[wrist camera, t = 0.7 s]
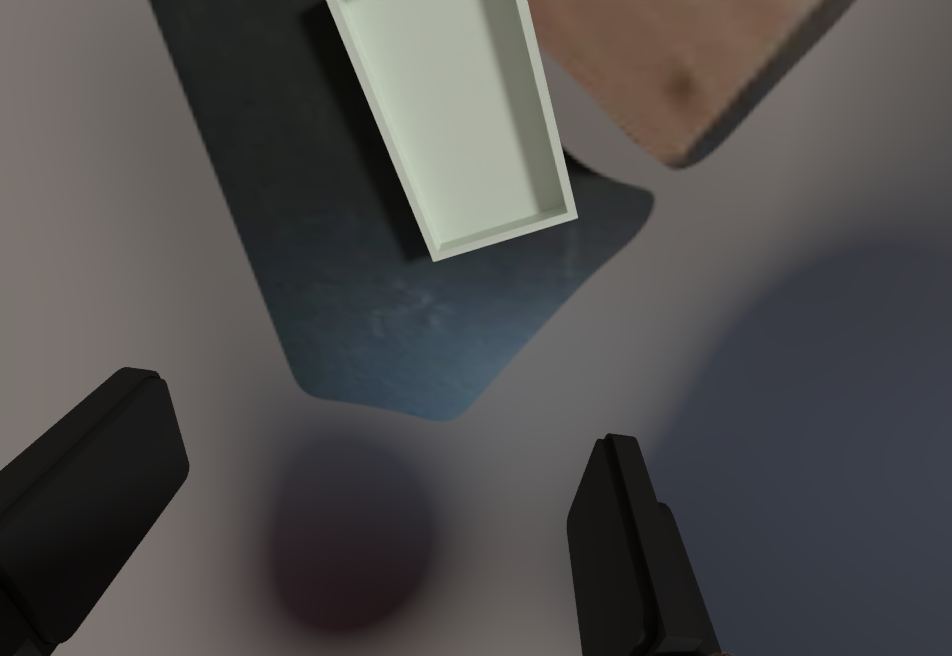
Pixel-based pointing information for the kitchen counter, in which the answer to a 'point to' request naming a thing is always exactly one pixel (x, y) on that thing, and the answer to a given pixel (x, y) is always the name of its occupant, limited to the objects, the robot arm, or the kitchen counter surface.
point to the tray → (461, 115)
